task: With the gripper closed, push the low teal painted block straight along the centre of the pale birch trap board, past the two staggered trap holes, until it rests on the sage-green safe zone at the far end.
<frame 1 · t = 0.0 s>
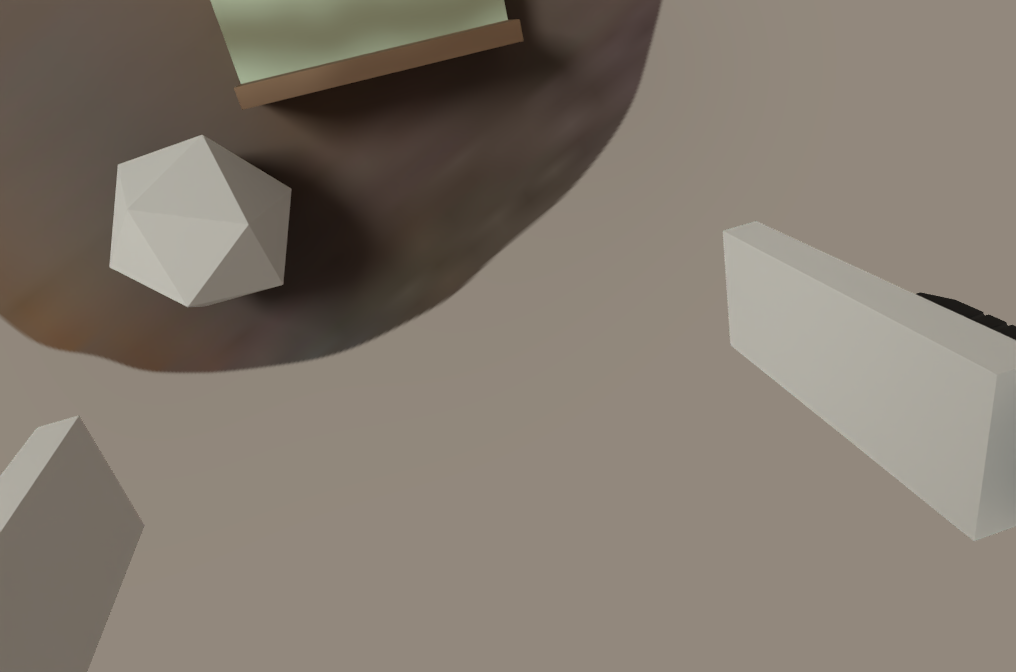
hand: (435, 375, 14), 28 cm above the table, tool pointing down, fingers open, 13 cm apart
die: (216, 208, 38), on the table
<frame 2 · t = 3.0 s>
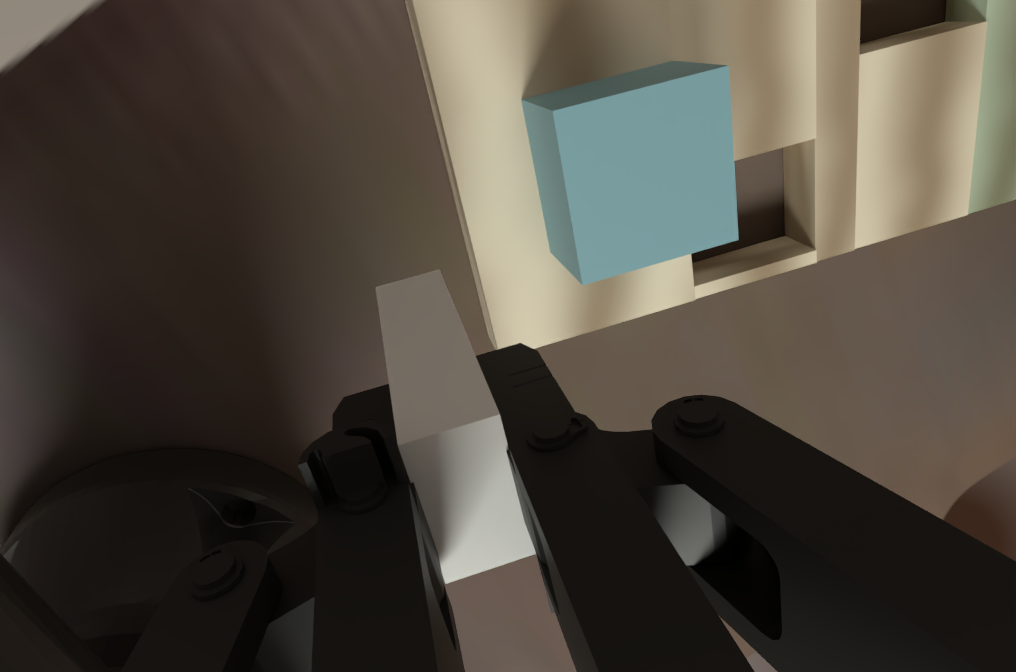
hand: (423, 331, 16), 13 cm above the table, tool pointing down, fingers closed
trap board: (760, 103, 29), on the table
block: (609, 160, 26), point 2 cm above the table, touching trap board
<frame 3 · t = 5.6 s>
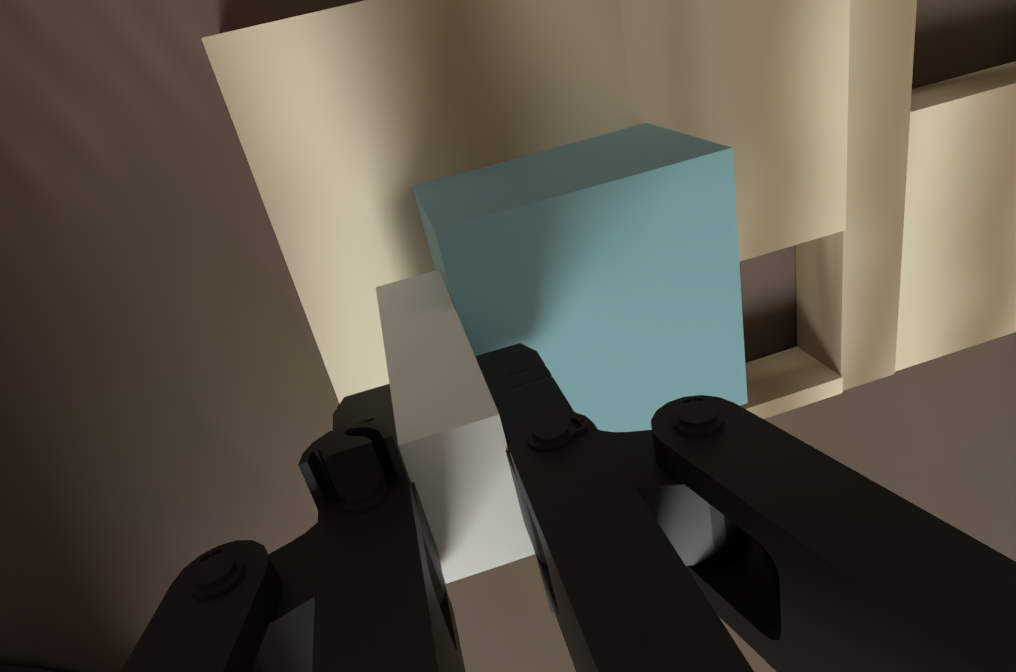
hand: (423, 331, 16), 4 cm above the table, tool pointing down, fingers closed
trap board: (764, 175, 21), on the table
block: (553, 267, 18), point 3 cm above the table, touching gripper
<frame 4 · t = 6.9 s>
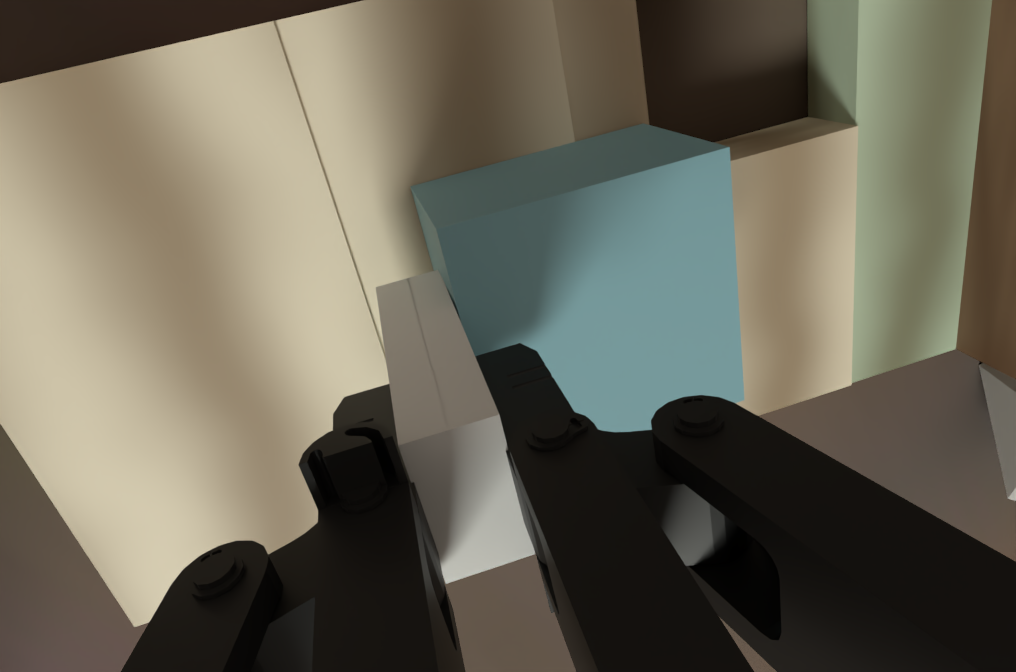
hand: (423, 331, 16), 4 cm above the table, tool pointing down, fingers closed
trap board: (533, 239, 20), on the table
block: (551, 267, 18), point 2 cm above the table, touching gripper, trap board
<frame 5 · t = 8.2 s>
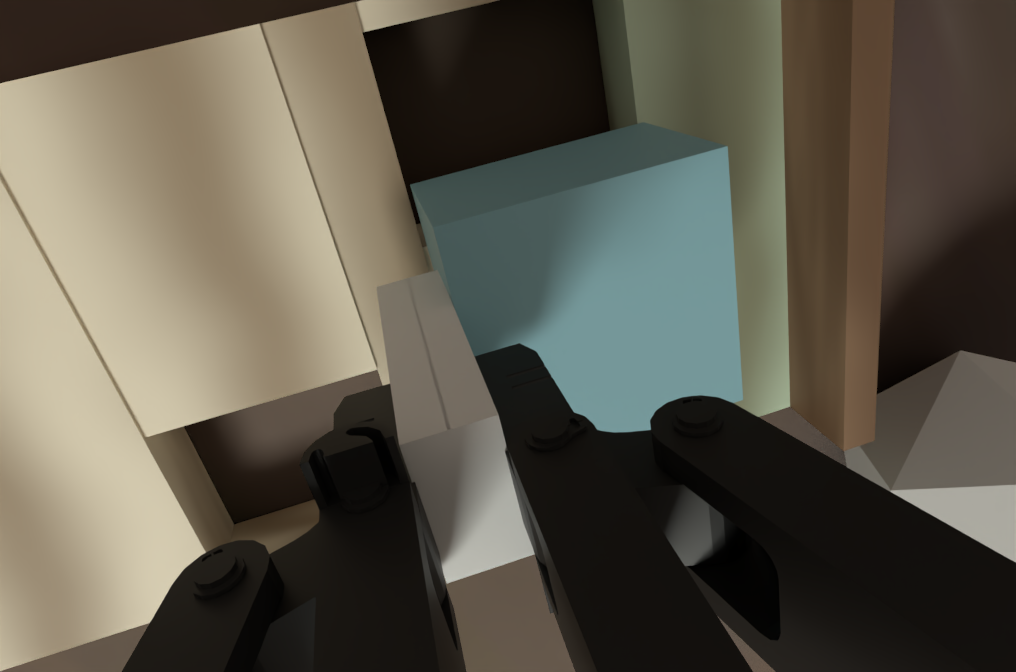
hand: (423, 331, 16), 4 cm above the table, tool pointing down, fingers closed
trap board: (323, 299, 19), on the table
block: (551, 265, 18), point 2 cm above the table, touching gripper
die: (896, 416, 26), on the table
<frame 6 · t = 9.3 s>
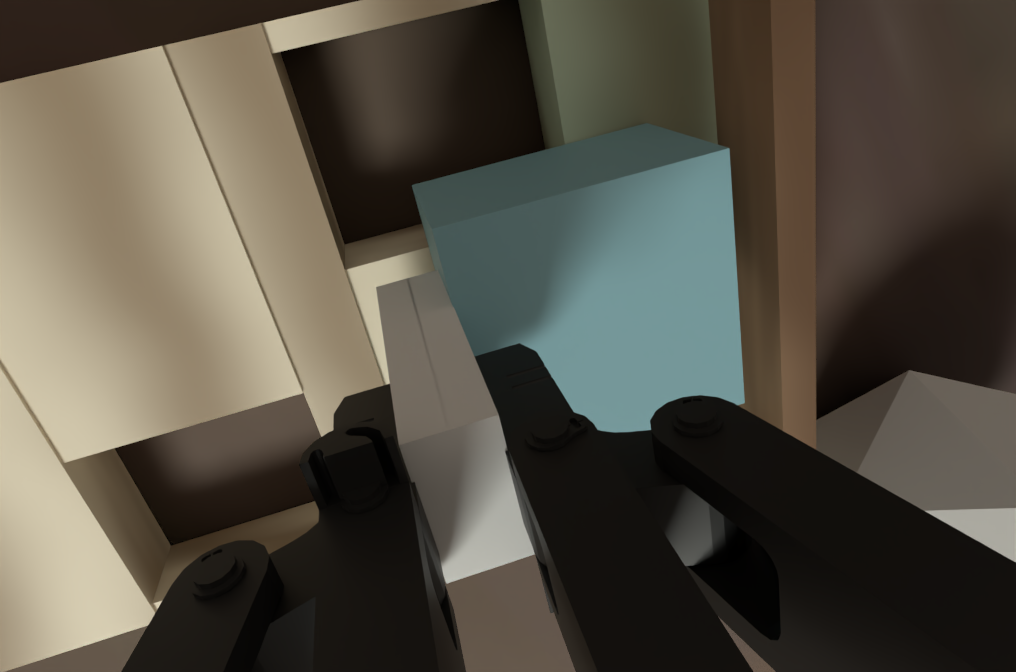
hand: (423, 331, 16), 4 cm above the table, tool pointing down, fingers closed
trap board: (254, 320, 19), on the table
block: (553, 266, 18), point 2 cm above the table, touching gripper, trap board
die: (853, 433, 26), on the table
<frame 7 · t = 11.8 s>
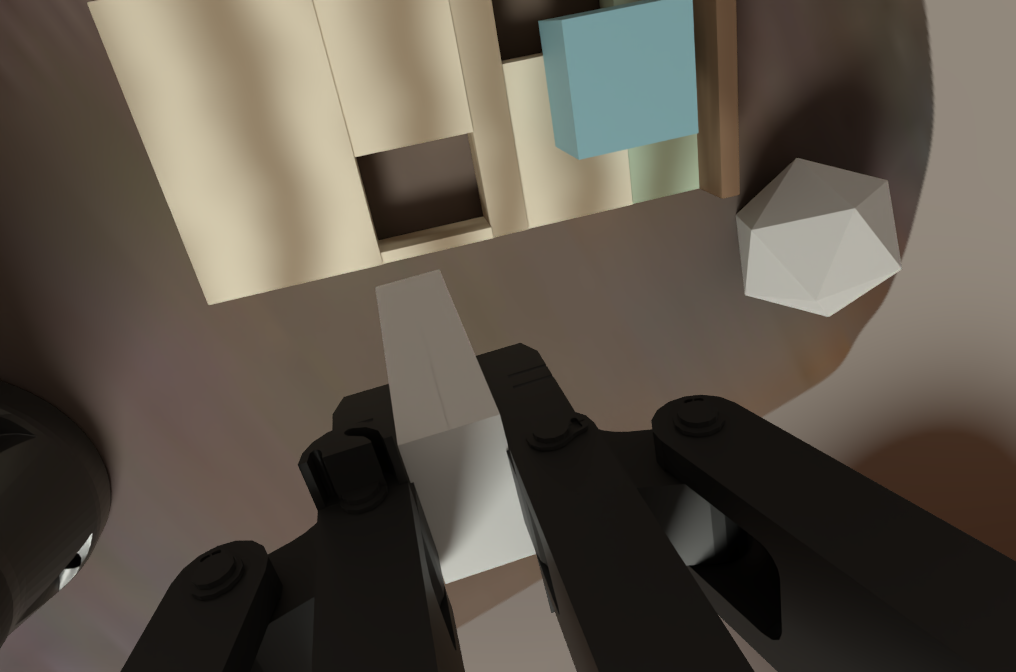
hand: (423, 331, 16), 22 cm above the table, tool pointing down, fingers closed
trap board: (441, 102, 35), on the table
block: (604, 74, 34), point 2 cm above the table, touching trap board
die: (774, 222, 42), on the table
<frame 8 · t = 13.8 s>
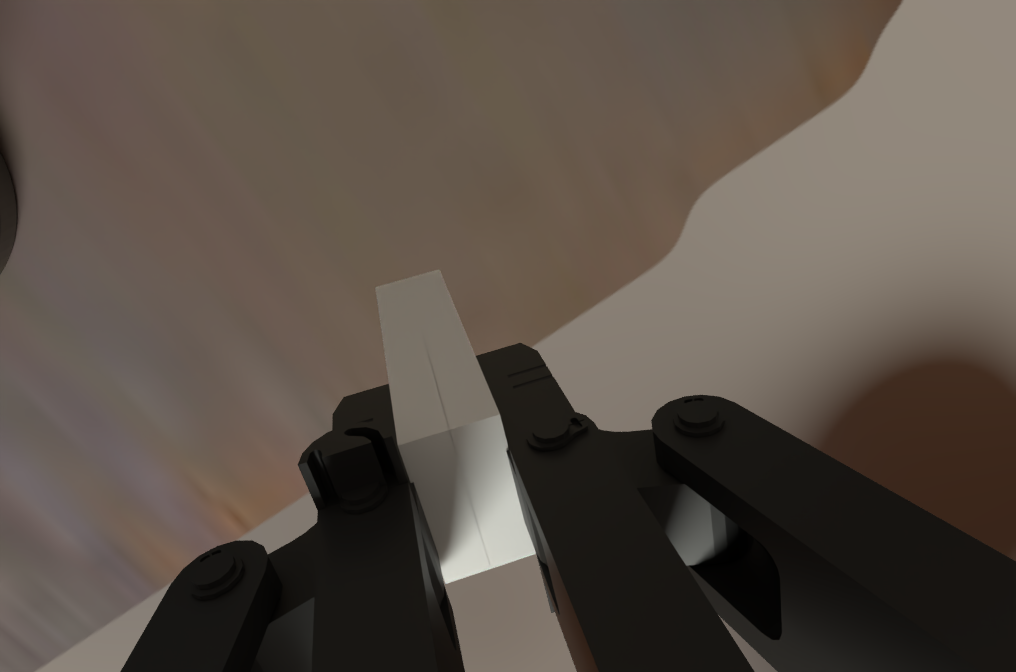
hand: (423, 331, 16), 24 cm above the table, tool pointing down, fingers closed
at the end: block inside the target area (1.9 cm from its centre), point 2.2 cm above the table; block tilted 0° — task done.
